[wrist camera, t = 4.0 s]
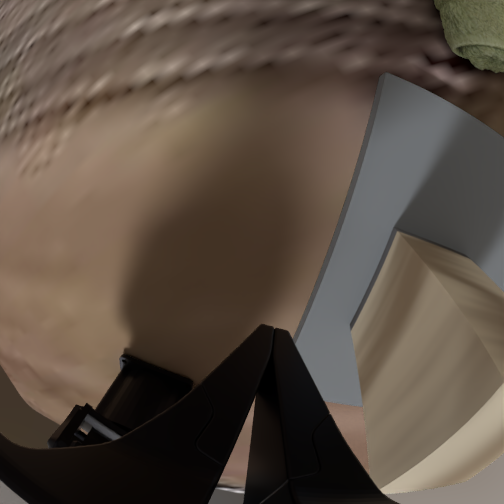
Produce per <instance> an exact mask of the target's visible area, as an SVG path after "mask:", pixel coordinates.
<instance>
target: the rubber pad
mask: <svg viewBox="0 0 504 504" xmlns="http://www.w3.org/2000/svg"><path fill="white" fill-rule="evenodd" d="M393 227H395V228H398V229H401V230H404V231H406V232H409V233H412V234H415V235H417V236H420V237H423V238H425V239H428V240H430V241H433V242H436V243H438V244H441V245H443V246H446V247H448V248H451V249H453V250H456V251H458V252H460V253H463V254H465V255H466V256H468V257H469V258H470V259H471V260H472V261H473V262H474V263H475V264H476V265H477V266H478V267H479V268H480V269H481V270H482V271H483V272H484V273H485V274H486V275H487V276H488V277H489V278H490V279H491V280H492V281H493V282H494V283H495V284H496V285H497V286H498V287H499V288H500V289H501V290H502V291H503V292H504V137H502V136H501V135H500V134H498V133H497V132H495V131H494V130H493V129H491V128H490V127H488V126H487V125H485V124H484V123H482V122H481V121H479V120H478V119H476V118H475V117H473V116H472V115H470V114H468V113H467V112H465V111H463V110H462V109H460V108H458V107H457V106H455V105H453V104H451V103H450V102H448V101H446V100H444V99H442V98H441V97H439V96H437V95H435V94H433V93H431V92H429V91H427V90H425V89H423V88H421V87H419V86H417V85H415V84H413V83H411V82H408V81H406V80H404V79H402V78H399V77H397V76H395V75H392V74H390V73H387V72H385V73H384V74H382V75H381V76H380V77H379V81H378V85H377V90H376V94H375V98H374V102H373V106H372V110H371V114H370V118H369V122H368V125H367V129H366V133H365V136H364V140H363V144H362V147H361V151H360V154H359V158H358V161H357V164H356V168H355V171H354V174H353V178H352V181H351V184H350V187H349V190H348V194H347V197H346V200H345V203H344V206H343V209H342V212H341V215H340V218H339V221H338V224H337V227H336V229H335V232H334V235H333V238H332V241H331V244H330V246H329V249H328V252H327V255H326V257H325V260H324V263H323V266H322V268H321V271H320V273H319V276H318V279H317V281H316V284H315V286H314V289H313V292H312V294H311V297H310V299H309V302H308V304H307V307H306V309H305V311H304V314H303V316H302V319H301V321H300V324H299V326H298V328H297V331H296V333H295V335H294V338H293V341H294V343H295V345H296V347H297V349H298V351H299V353H300V355H301V357H302V359H303V361H304V363H305V365H306V367H307V368H308V370H309V372H310V374H311V376H312V378H313V380H314V382H315V384H316V386H317V388H318V390H319V392H320V394H321V396H322V398H323V400H324V401H327V402H333V403H339V404H346V405H353V406H360V407H363V404H362V396H361V389H360V382H359V376H358V369H357V363H356V357H355V351H354V346H353V340H352V335H351V329H350V323H351V321H352V319H353V317H354V315H355V313H356V311H357V309H358V307H359V305H360V303H361V301H362V299H363V297H364V295H365V293H366V290H367V288H368V286H369V284H370V282H371V280H372V277H373V275H374V273H375V271H376V268H377V266H378V264H379V261H380V259H381V257H382V254H383V252H384V250H385V247H386V245H387V242H388V240H389V237H390V235H391V232H392V230H393Z"/></svg>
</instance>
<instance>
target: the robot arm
mask: <svg viewBox="0 0 504 504" xmlns="http://www.w3.org/2000/svg"><path fill="white" fill-rule="evenodd" d="M119 360H120V368H121V372H120V373H119V374H118V376H117V377H116V379H115V380H114V382H113V383H112V385H111V386H110V388H109V389H108V391H107V392H106V394H105V395H104V397H103V398H102V400H101V401H100V403H99V404H98V406H97V407H96V409H95V410H94V409H93V408H92V406H91V405H89V404H88V403H86V404H85V406H84V407H83V406H79V405H75V407H74V408H73V410H72V411H71V413H70V414H69V415H68V417H67V418H66V419H65V421H64V422H63V423H62V424H61V425H60V427H59V428H58V429H57V430H56V431H55V433H54V434H53V435H52V436H51V437H50V439H49V440H48V442H47V444H48V447H49V448H46V449H35V448H27V447H23V446H20V445H17V444H15V443H13V442H11V441H10V440H8V439H7V438H6V437H5V436H4V435H3V434H2V433H0V504H208V502H209V500H210V498H211V496H212V494H213V492H214V490H215V488H216V485H217V483H218V481H219V479H220V477H221V475H222V473H223V470H224V468H225V466H226V464H227V462H228V459H229V457H230V455H231V453H232V450H233V448H234V446H235V444H236V441H237V439H238V437H239V434H240V432H241V430H242V427H243V425H244V423H245V420H246V418H247V415H248V413H249V411H250V408H251V406H252V403H253V401H254V398H255V396H256V399H255V408H254V417H253V426H252V435H251V444H250V452H249V461H248V469H247V478H246V486H245V494H244V502H243V504H399V503H397V502H395V501H393V500H391V499H390V498H388V497H387V496H386V495H385V494H383V493H382V491H381V490H380V489H379V488H378V487H377V486H376V484H375V483H374V482H373V480H372V479H371V477H370V476H369V475H368V473H367V472H366V470H365V469H364V468H363V466H362V465H361V463H360V462H359V460H358V459H357V457H356V456H355V455H354V453H353V452H352V450H351V448H350V447H349V445H348V444H347V442H346V441H345V439H344V437H343V436H342V434H341V432H340V430H339V429H338V427H337V425H336V423H335V421H334V419H333V417H332V415H331V414H330V412H329V410H328V408H327V406H326V404H325V402H324V400H323V398H322V396H321V394H320V392H319V390H318V388H317V386H316V384H315V382H314V380H313V378H312V376H311V374H310V372H309V370H308V368H307V367H306V365H305V363H304V361H303V359H302V357H301V355H300V353H299V351H298V349H297V347H296V345H295V343H294V341H293V339H292V337H291V335H290V333H289V332H288V331H287V330H284V329H280V328H275V329H274V327H272V326H268V325H265V324H261V325H259V326H258V327H257V329H256V330H255V331H253V332H252V333H251V334H250V335H249V336H248V337H247V338H246V339H245V340H244V341H243V342H242V343H241V344H240V345H239V346H238V347H237V348H236V349H235V350H234V351H233V352H232V353H231V354H230V355H229V356H228V357H227V358H226V359H225V360H224V361H223V362H222V363H221V364H220V365H219V366H217V367H216V368H215V369H214V370H213V371H212V372H211V373H210V374H209V375H208V376H207V377H206V378H205V379H204V380H203V381H201V383H200V384H198V385H197V386H196V387H195V388H194V389H193V382H192V381H191V380H190V379H187V378H185V377H182V376H179V375H176V374H173V373H171V372H168V371H165V370H163V369H160V368H157V367H155V366H152V365H150V364H147V363H145V362H142V361H140V360H137V359H135V358H133V357H130V356H128V355H125V354H122V355H121V357H120V359H119ZM81 428H82V429H84V430H85V431H86V432H88V434H87V435H86V434H85V433H83V432H82V431H81V430H80V429H81Z"/></svg>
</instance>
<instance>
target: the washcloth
mask: <svg viewBox="0 0 504 504" xmlns="http://www.w3.org/2000/svg"><path fill="white" fill-rule="evenodd" d="M434 2H435V3H434V4H435V6H436V9H438V10H440V16H441V20H442V26H443V28H444V34H445V39H446V40H447V43H448V44H449V46H450V48H451V50H452V51H453V52H454V53H455V54H457V55H458V56H461V57H462V58H466V59H469V60H470V62H471V63H472V64H473V65H474V66H475V67H477V68H478V69H481V70H484V69H487V70H489V69H490V70H492V71H493V72H495V73H498V72H499V71H500V72H503V73H504V0H434Z"/></svg>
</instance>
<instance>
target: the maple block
mask: <svg viewBox="0 0 504 504" xmlns="http://www.w3.org/2000/svg"><path fill="white" fill-rule="evenodd" d="M350 329H351V335H352V340H353V346H354V351H355V357H356V363H357V369H358V376H359V382H360V389H361V396H362V404H363V412H364V420H365V429H366V439H367V450H368V462H369V476H370V477H371V479H372V480H373V482H374V483H375V484H376V486H377V487H378V488H379V489H380V490H381V491H382V493H383V494H393V493H404V492H411V491H420V490H426V489H432V488H438V487H444V486H448V485H453V484H458V483H462V482H466V481H467V480H469V479H470V478H472V477H473V476H475V475H476V474H477V473H479V472H480V471H482V470H483V469H484V468H486V467H487V466H488V465H490V464H491V463H492V462H493V461H495V460H496V459H497V458H498V457H500V456H501V455H502V454H503V453H504V292H503V291H502V290H501V289H500V288H499V287H498V286H497V285H496V284H495V283H494V282H493V281H492V280H491V279H490V278H489V277H488V276H487V275H486V274H485V273H484V272H483V271H482V270H481V269H480V268H479V267H478V266H477V265H476V264H475V263H474V262H473V261H472V260H471V259H470V258H469V257H468V256H466V255H465V254H463V253H460V252H458V251H456V250H453V249H451V248H448V247H446V246H443V245H441V244H438V243H436V242H433V241H430V240H428V239H425V238H423V237H420V236H417V235H415V234H412V233H409V232H406V231H404V230H401V229H398V228H395V227H393V230H392V232H391V235H390V237H389V240H388V242H387V245H386V247H385V250H384V252H383V254H382V257H381V259H380V261H379V264H378V266H377V268H376V271H375V273H374V275H373V277H372V280H371V282H370V284H369V286H368V288H367V290H366V293H365V295H364V297H363V299H362V301H361V303H360V305H359V307H358V309H357V311H356V313H355V315H354V317H353V319H352V321H351V323H350Z"/></svg>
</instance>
